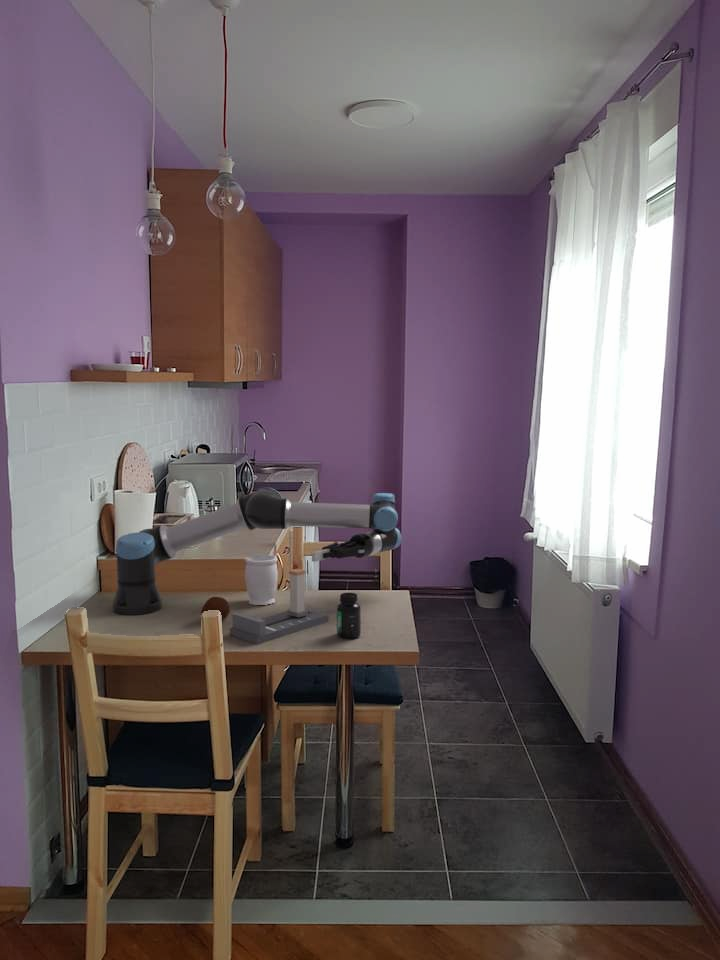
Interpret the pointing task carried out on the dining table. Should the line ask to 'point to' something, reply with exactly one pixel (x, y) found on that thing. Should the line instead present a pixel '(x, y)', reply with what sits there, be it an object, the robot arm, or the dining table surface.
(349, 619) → the supplement bottle
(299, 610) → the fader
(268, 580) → the jar
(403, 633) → the dining table surface
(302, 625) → the console
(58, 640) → the dining table surface
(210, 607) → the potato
